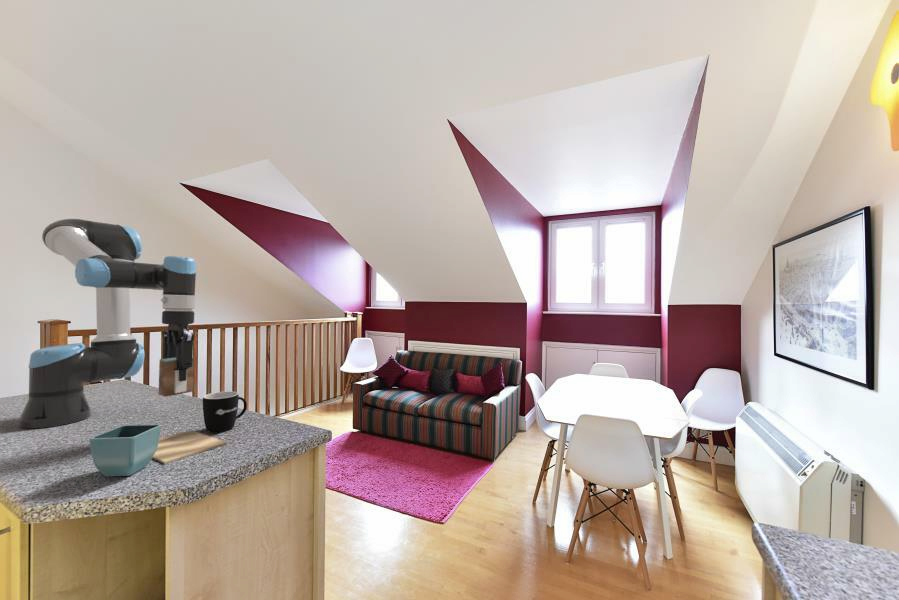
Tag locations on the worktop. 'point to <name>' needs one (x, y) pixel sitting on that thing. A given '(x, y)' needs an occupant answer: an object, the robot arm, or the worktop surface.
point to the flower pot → (125, 449)
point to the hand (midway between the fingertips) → (176, 390)
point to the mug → (221, 410)
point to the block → (172, 377)
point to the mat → (184, 446)
